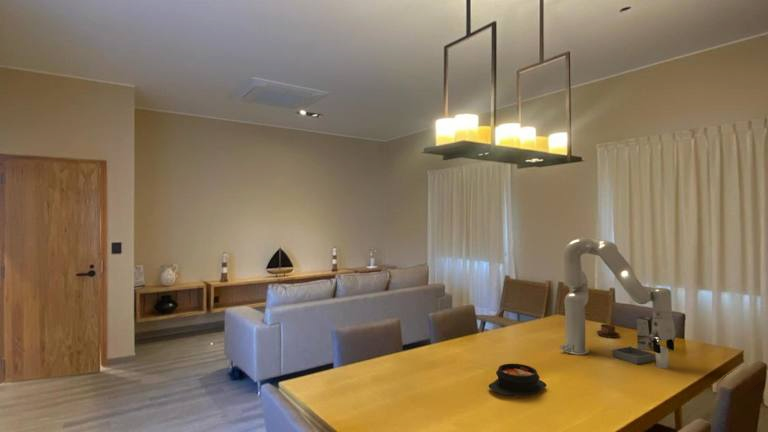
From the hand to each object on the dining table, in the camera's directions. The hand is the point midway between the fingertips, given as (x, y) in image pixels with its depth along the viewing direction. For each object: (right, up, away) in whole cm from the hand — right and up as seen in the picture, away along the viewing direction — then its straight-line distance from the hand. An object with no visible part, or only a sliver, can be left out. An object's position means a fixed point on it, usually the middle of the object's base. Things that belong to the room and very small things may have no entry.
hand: (663, 351), depth 197 cm
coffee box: (+10, -8, +30) cm, 32 cm away
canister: (0, -8, 0) cm, 8 cm away
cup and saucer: (+2, -8, +53) cm, 53 cm away
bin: (-7, -8, +11) cm, 16 cm away
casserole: (-77, -8, -26) cm, 82 cm away
